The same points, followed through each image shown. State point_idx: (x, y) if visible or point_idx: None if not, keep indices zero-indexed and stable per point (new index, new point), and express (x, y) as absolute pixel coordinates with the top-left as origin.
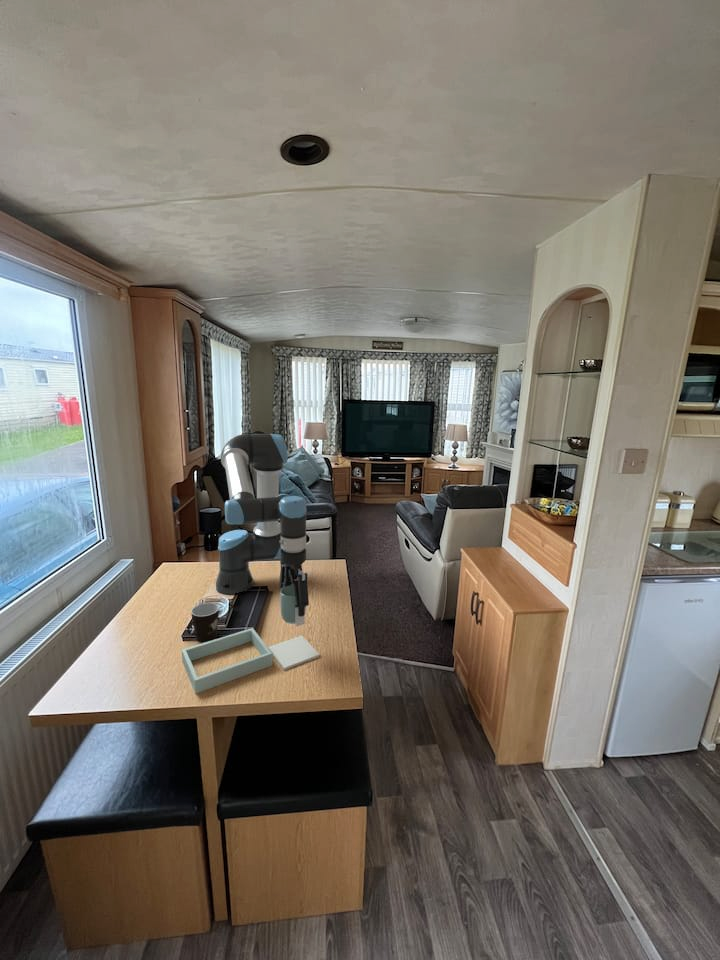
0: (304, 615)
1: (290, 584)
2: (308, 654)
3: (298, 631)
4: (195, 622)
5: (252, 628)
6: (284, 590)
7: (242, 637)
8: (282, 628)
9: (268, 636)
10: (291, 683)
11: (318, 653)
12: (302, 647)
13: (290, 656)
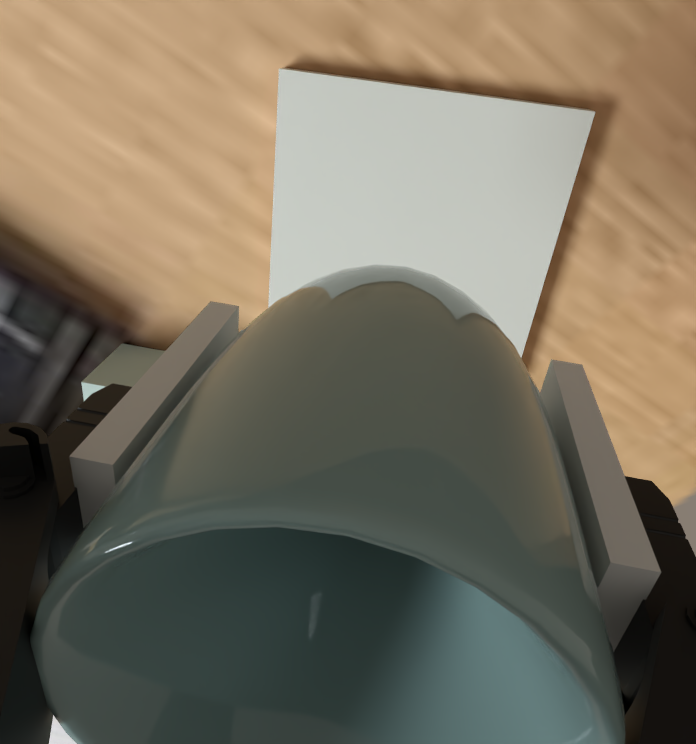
0: (606, 431)
1: (27, 660)
2: (525, 185)
3: (189, 36)
4: None
5: (87, 386)
6: (145, 708)
7: None
8: (90, 124)
9: (141, 260)
10: (637, 407)
11: (579, 112)
12: (420, 168)
13: None
